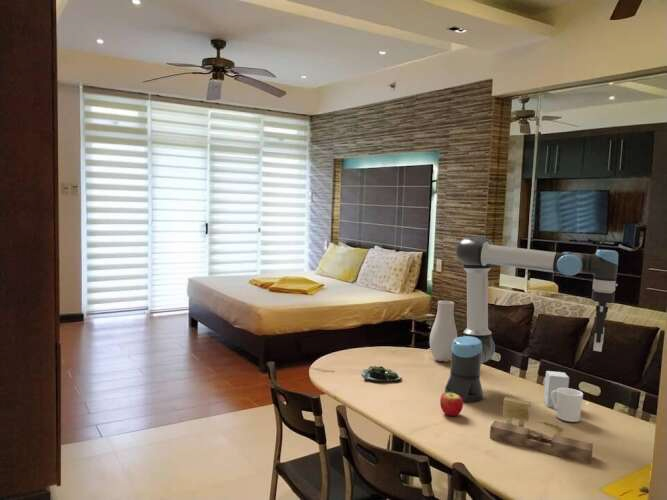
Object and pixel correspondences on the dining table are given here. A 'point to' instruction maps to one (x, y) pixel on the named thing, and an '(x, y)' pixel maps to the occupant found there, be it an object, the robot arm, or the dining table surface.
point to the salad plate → (380, 375)
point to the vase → (443, 332)
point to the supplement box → (554, 385)
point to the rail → (542, 442)
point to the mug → (568, 404)
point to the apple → (451, 403)
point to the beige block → (516, 410)
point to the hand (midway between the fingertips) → (598, 347)
